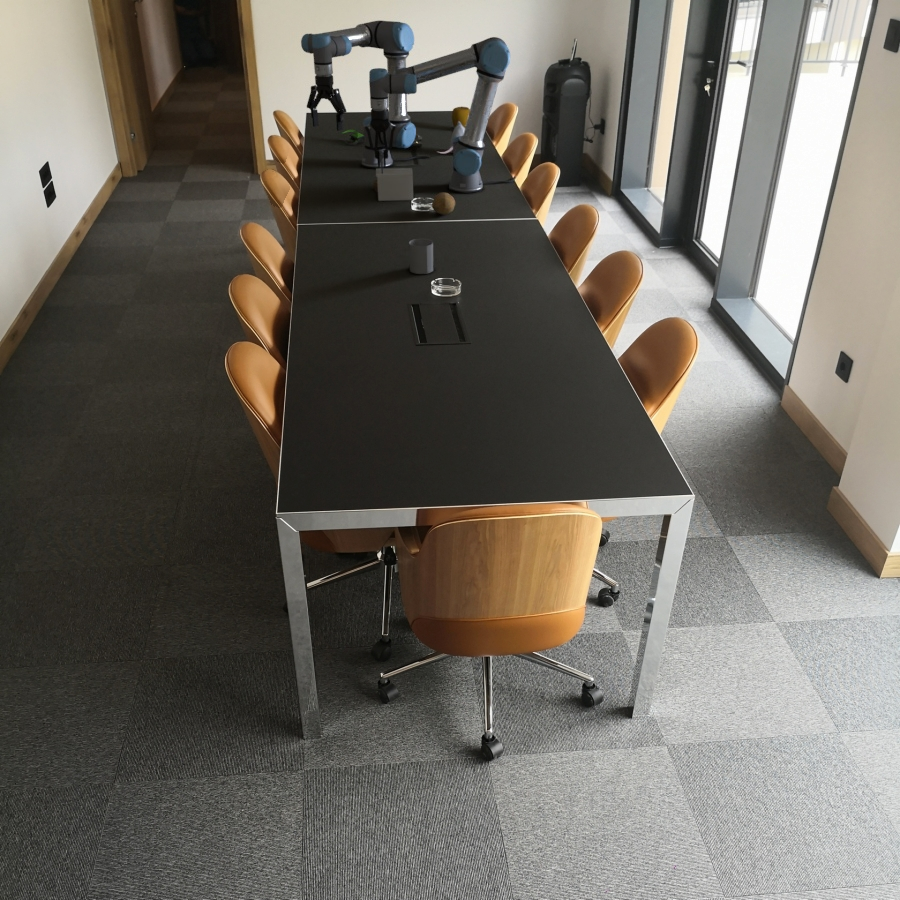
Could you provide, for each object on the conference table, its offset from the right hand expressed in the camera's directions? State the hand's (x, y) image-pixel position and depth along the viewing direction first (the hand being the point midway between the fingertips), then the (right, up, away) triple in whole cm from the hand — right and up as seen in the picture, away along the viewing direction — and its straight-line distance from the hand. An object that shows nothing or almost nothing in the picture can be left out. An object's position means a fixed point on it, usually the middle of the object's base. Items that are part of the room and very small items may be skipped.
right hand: (381, 166), depth 375 cm
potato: (+27, -24, -12) cm, 38 cm away
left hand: (-23, +15, -3) cm, 28 cm away
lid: (+5, -3, +2) cm, 6 cm away
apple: (+36, +58, +116) cm, 134 cm away
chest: (+6, -11, +8) cm, 15 cm away
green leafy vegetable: (-14, +42, +91) cm, 101 cm away
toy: (+31, +28, +69) cm, 81 cm away
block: (-2, -5, +17) cm, 18 cm away
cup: (+19, -59, -67) cm, 91 cm away
